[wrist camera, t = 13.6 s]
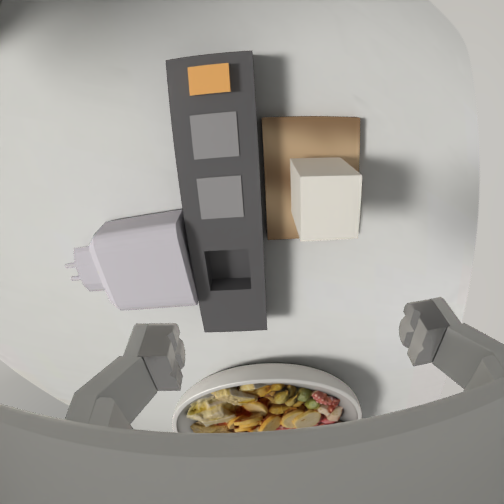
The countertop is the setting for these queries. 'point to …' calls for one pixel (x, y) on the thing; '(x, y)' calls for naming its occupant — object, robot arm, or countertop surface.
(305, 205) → the charger
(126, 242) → the charger
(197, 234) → the power strip
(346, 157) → the cork mat
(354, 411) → the bowl
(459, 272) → the countertop surface
